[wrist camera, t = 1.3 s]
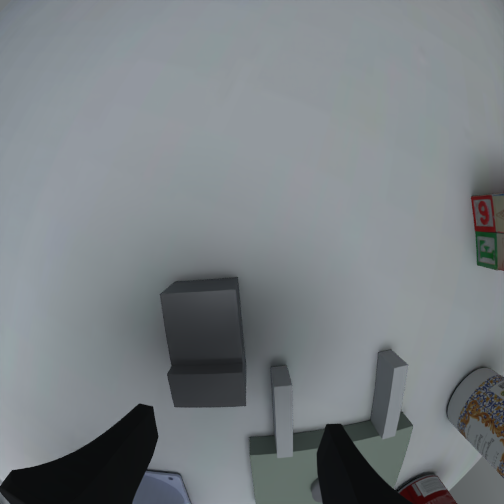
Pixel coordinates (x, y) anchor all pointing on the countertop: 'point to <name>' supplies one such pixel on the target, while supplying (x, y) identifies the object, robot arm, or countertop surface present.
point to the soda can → (427, 491)
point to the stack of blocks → (489, 230)
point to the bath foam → (481, 414)
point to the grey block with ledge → (205, 343)
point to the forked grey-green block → (306, 444)
